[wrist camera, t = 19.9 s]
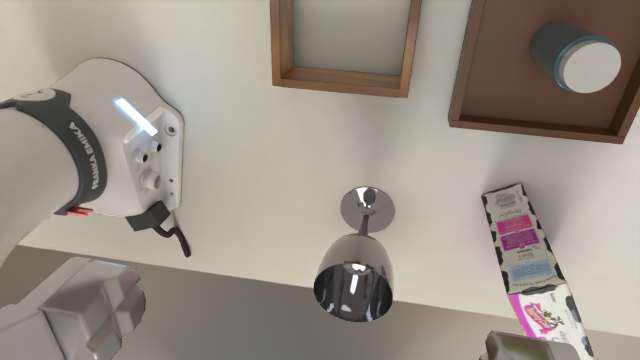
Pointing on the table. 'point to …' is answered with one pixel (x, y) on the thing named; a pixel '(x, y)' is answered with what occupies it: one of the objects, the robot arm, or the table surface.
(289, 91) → the table surface
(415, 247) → the table surface
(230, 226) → the table surface
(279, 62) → the open square wooden box
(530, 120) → the tray
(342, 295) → the wine glass
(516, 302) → the candy bar box
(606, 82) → the salt shaker
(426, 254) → the table surface
